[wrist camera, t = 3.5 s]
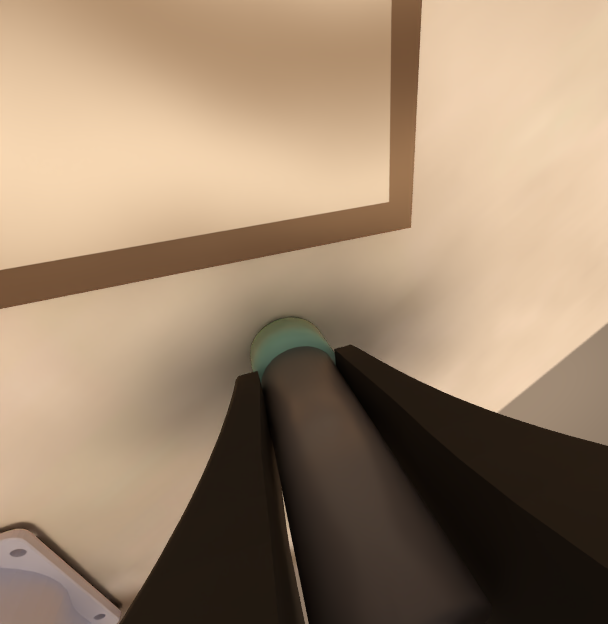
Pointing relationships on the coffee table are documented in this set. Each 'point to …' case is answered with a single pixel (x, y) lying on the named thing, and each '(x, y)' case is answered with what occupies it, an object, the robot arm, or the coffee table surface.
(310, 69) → the brown picture frame
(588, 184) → the coffee table surface
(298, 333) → the marker
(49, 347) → the coffee table surface
